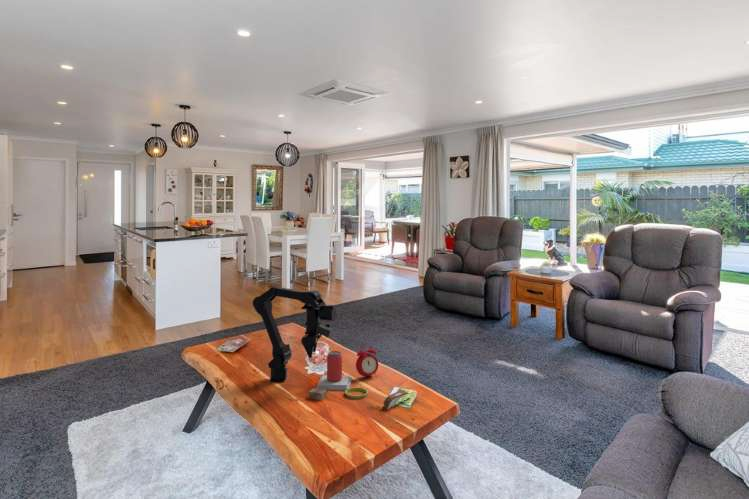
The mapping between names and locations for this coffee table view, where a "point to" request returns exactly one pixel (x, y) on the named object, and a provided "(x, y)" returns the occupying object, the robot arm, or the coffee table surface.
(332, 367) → the beer can
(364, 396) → the olive green ring
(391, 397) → the wallet with cash
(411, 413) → the coffee table surface
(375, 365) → the alarm clock
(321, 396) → the metal block
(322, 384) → the stand
